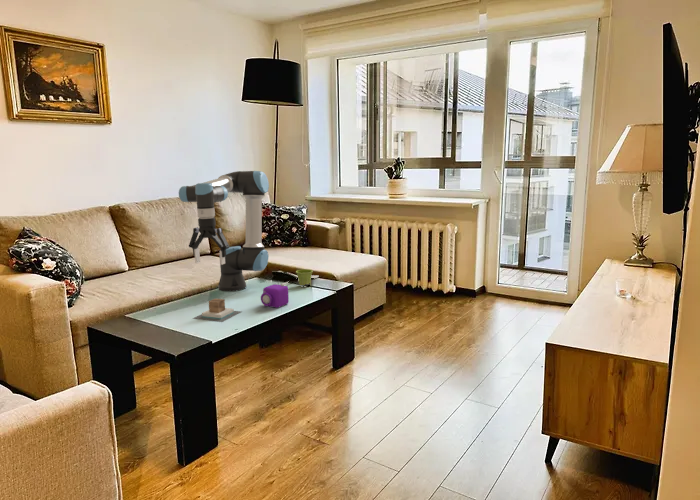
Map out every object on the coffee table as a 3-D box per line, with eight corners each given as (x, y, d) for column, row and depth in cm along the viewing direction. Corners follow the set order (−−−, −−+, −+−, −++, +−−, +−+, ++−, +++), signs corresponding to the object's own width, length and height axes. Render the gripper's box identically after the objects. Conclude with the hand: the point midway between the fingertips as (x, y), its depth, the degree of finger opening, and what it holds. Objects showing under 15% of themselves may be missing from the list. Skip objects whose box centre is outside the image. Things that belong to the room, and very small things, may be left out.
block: (216, 308, 227) (215, 298, 226) (225, 309, 225) (224, 299, 224) (209, 312, 222) (208, 301, 221) (218, 313, 220) (217, 302, 220)
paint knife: (291, 289, 273) (291, 284, 272) (272, 286, 279) (271, 282, 279) (321, 277, 298) (321, 274, 298) (302, 275, 305) (302, 271, 305)
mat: (213, 309, 234) (213, 308, 234) (242, 312, 229) (242, 311, 229) (192, 319, 220) (192, 318, 220) (222, 322, 214) (222, 322, 214)
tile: (215, 306, 230) (233, 308, 227) (215, 311, 230) (233, 312, 227) (201, 313, 221) (220, 315, 217) (202, 317, 221) (220, 319, 218)
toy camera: (257, 309, 234) (256, 288, 232) (271, 301, 247) (270, 282, 245) (277, 311, 230) (276, 290, 229) (290, 303, 243) (290, 283, 241)
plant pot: (312, 288, 272) (311, 272, 270) (295, 288, 272) (294, 273, 270) (313, 284, 281) (313, 269, 280) (297, 284, 281) (296, 269, 280)
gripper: (178, 218, 223) (182, 263, 227) (225, 219, 214) (229, 266, 219) (188, 215, 230) (192, 260, 234) (235, 216, 221) (238, 262, 226)
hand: (210, 263), depth 226 cm, fingers open, 13 cm apart
